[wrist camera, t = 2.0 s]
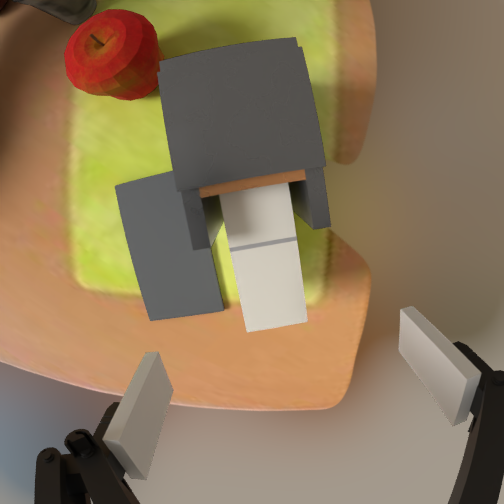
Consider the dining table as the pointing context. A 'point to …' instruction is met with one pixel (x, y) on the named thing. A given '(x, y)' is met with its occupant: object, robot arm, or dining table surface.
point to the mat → (166, 250)
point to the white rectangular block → (265, 256)
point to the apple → (114, 55)
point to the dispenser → (242, 130)
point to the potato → (2, 3)
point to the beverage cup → (65, 8)
